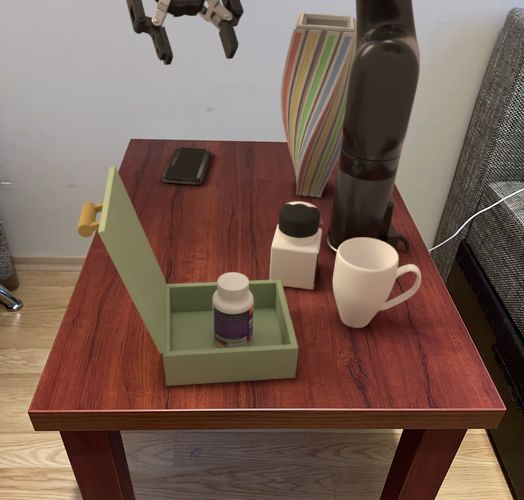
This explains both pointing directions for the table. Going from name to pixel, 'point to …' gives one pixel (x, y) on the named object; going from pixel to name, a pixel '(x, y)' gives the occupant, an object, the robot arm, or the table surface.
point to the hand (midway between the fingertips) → (201, 58)
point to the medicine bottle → (296, 246)
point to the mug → (367, 279)
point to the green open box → (227, 359)
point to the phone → (187, 166)
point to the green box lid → (129, 254)
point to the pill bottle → (232, 311)
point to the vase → (316, 95)
